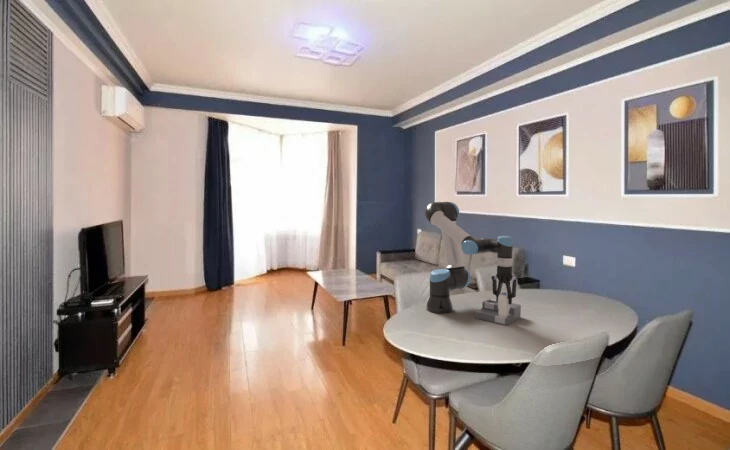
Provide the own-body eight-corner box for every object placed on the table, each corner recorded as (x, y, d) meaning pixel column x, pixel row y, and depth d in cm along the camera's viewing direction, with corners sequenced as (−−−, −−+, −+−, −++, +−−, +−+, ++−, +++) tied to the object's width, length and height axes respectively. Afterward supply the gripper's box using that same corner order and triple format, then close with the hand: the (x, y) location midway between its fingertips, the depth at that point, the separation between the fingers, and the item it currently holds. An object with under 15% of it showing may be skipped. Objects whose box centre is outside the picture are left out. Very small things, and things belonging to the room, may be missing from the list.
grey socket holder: (474, 318, 205) (475, 305, 204) (489, 310, 218) (489, 298, 218) (507, 325, 193) (507, 312, 192) (520, 317, 206) (520, 304, 205)
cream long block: (498, 316, 198) (498, 292, 197) (501, 315, 201) (501, 291, 200) (505, 318, 196) (506, 293, 195) (508, 316, 198) (509, 292, 198)
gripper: (486, 264, 199) (485, 307, 201) (518, 268, 188) (517, 314, 190) (492, 262, 205) (491, 304, 207) (523, 266, 193) (522, 310, 195)
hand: (503, 309), depth 198 cm, fingers closed on cream long block, 4 cm apart
